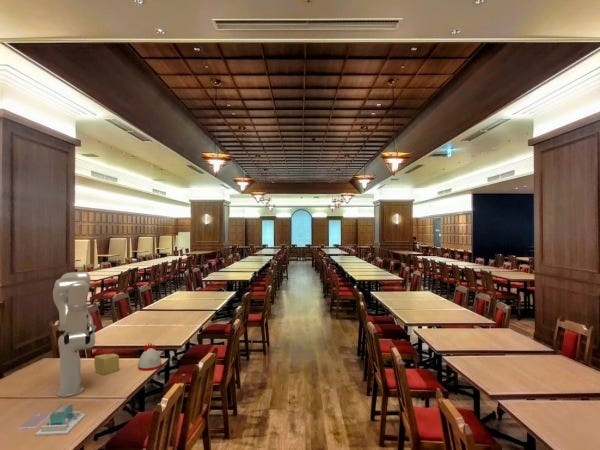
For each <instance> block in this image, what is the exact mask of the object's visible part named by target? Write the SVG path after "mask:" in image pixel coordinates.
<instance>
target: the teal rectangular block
mask: <svg viewBox="0 0 600 450" xmlns="http://www.w3.org/2000/svg"><path fill="white" fill-rule="evenodd" d="M73 405H74V404H62V405H60V406H58V407H57V408H56V409H55V410H54V411H53V412H51V413H52V414H51V415H50V416H49V421H50V425H65V419H66V418H68V422H69V421H70V420H71V419H72V418H73V411H74V410H73V407H74V406H73Z"/></svg>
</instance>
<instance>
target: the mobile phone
mask: <svg viewBox="0 0 600 450" xmlns="http://www.w3.org/2000/svg"><path fill="white" fill-rule="evenodd" d="M52 413H53V412H49V411H48V412H36V413H34V414H33V415H32V416H31V417H30V418H28V419H27V420H26V421H25V422H24V423H23V422H22V424H21V425H20V426H18V429H19V430H21V429H22V430H23V429H26V430H27V429H35V428H38V427H39V426H40V425H42V423H43V422H45V421H46V420H47V419H49V418H50V415H51V414H52Z"/></svg>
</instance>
